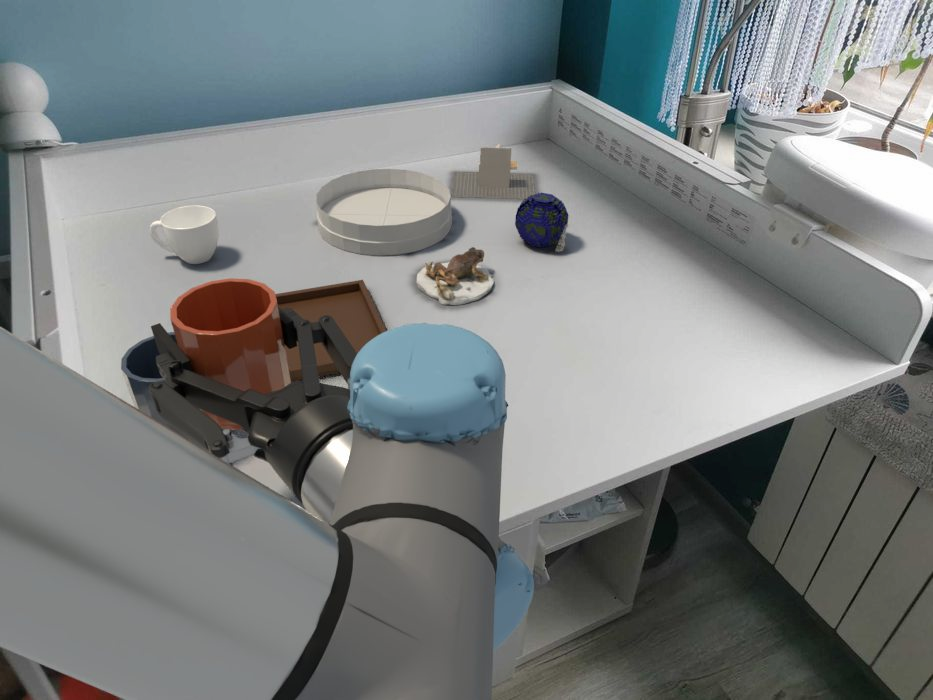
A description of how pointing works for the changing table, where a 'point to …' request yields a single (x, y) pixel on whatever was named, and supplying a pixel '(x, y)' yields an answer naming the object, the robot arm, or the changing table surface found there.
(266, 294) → the terracotta cup
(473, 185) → the architectural model
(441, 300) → the frog figurine
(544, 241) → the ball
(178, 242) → the cup
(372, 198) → the dish
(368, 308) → the tray
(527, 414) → the changing table surface
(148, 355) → the slate cup
